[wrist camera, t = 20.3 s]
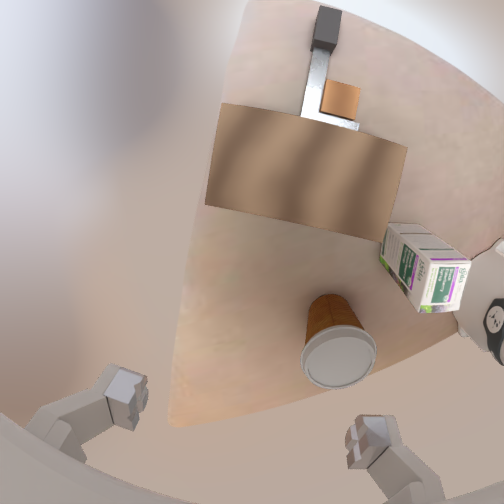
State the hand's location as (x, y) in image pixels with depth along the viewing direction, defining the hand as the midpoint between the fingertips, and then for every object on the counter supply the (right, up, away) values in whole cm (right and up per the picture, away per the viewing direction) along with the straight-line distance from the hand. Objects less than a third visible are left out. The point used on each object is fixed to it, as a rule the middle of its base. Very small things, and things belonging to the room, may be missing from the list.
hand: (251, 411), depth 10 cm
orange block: (+10, +24, +23) cm, 35 cm away
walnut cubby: (+6, +17, +26) cm, 32 cm away
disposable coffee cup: (+12, -3, +34) cm, 36 cm away
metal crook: (+10, +28, +22) cm, 37 cm away
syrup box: (+21, +7, +29) cm, 36 cm away
